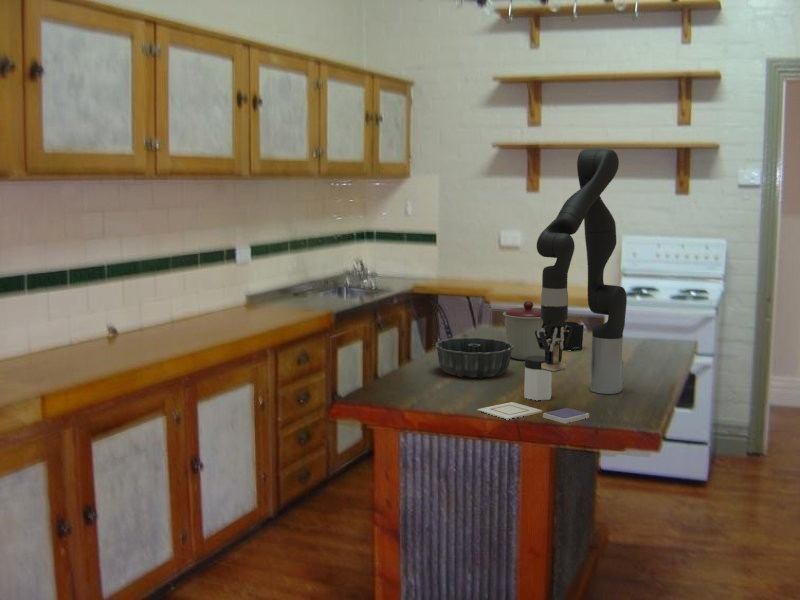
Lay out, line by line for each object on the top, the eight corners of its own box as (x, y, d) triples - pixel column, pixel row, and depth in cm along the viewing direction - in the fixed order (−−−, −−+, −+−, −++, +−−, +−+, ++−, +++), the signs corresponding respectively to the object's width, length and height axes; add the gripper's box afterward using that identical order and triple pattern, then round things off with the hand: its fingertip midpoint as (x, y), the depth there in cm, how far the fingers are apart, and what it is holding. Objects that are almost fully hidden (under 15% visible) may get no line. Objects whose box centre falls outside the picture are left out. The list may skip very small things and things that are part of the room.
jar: (557, 397, 281) (559, 358, 280) (542, 402, 275) (543, 362, 274) (533, 392, 287) (534, 354, 286) (517, 397, 282) (518, 358, 280)
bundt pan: (509, 383, 300) (510, 353, 298) (428, 379, 305) (429, 349, 304) (516, 367, 325) (516, 339, 324) (441, 363, 331) (441, 336, 329)
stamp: (552, 366, 270) (553, 342, 269) (565, 369, 266) (565, 345, 265) (541, 369, 267) (541, 344, 266) (553, 372, 263) (554, 347, 262)
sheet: (512, 404, 273) (512, 401, 273) (542, 412, 264) (542, 410, 264) (477, 411, 265) (477, 409, 265) (507, 420, 255) (507, 418, 255)
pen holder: (556, 350, 355) (557, 324, 354) (559, 346, 364) (560, 321, 363) (581, 352, 353) (582, 326, 351) (584, 347, 361) (585, 322, 360)
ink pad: (567, 411, 265) (567, 407, 264) (589, 417, 258) (589, 412, 258) (542, 417, 258) (543, 412, 258) (564, 423, 252) (564, 418, 252)
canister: (555, 363, 332) (557, 304, 329) (504, 362, 332) (505, 304, 329) (548, 353, 350) (549, 298, 347) (500, 353, 350) (501, 297, 347)
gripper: (561, 299, 271) (560, 357, 273) (527, 304, 262) (526, 364, 265) (581, 302, 265) (579, 361, 268) (547, 307, 256) (546, 368, 259)
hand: (553, 362), depth 266 cm, fingers closed on stamp, 3 cm apart
